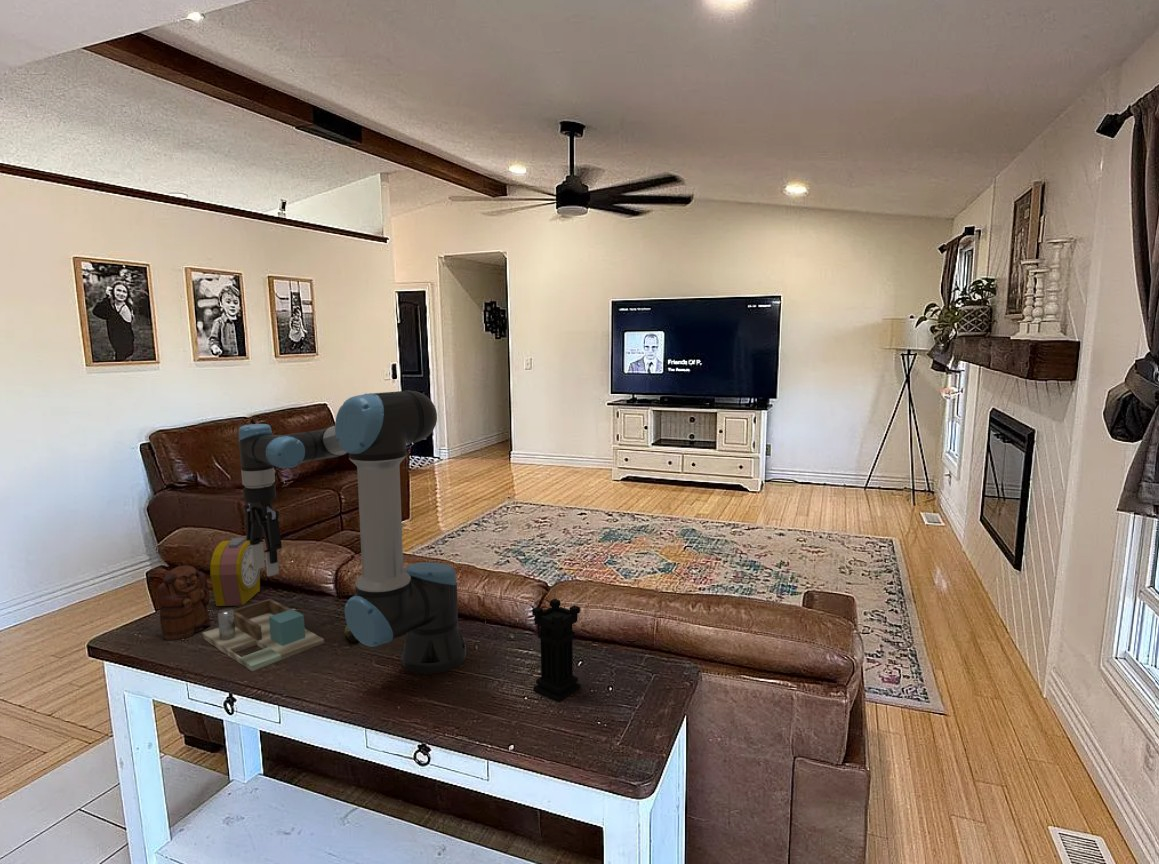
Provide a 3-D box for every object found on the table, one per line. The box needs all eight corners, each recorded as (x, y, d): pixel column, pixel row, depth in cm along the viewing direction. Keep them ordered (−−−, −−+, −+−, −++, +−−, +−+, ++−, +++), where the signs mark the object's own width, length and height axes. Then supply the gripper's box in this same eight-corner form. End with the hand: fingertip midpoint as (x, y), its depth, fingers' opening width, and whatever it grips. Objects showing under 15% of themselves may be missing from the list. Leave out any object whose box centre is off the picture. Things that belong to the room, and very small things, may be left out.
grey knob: (238, 636, 168) (235, 610, 167) (223, 641, 165) (220, 615, 164) (231, 632, 170) (229, 607, 169) (217, 637, 168) (214, 611, 167)
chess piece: (555, 682, 148) (554, 597, 145) (583, 694, 143) (582, 606, 140) (530, 697, 142) (529, 609, 139) (558, 710, 137) (557, 619, 134)
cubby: (299, 625, 174) (299, 613, 174) (258, 640, 166) (257, 627, 165) (271, 610, 184) (270, 598, 184) (230, 623, 176) (229, 611, 175)
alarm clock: (242, 607, 190) (237, 546, 187) (213, 608, 190) (207, 547, 187) (264, 588, 205) (260, 531, 202) (237, 588, 204) (232, 531, 202)
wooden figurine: (177, 643, 168) (170, 575, 166) (159, 639, 170) (152, 572, 168) (216, 624, 179) (211, 560, 176) (199, 621, 181) (193, 558, 179)
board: (324, 644, 167) (323, 638, 167) (252, 672, 153) (251, 666, 153) (271, 615, 185) (271, 610, 184) (202, 638, 171) (202, 632, 171)
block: (305, 637, 167) (303, 615, 167) (282, 646, 163) (280, 623, 162) (293, 630, 171) (292, 609, 170) (270, 639, 167) (268, 616, 166)
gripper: (292, 487, 164) (299, 575, 168) (256, 477, 177) (262, 559, 180) (262, 493, 159) (269, 584, 162) (226, 482, 171) (234, 567, 174)
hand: (265, 571), depth 171 cm, fingers open, 7 cm apart
